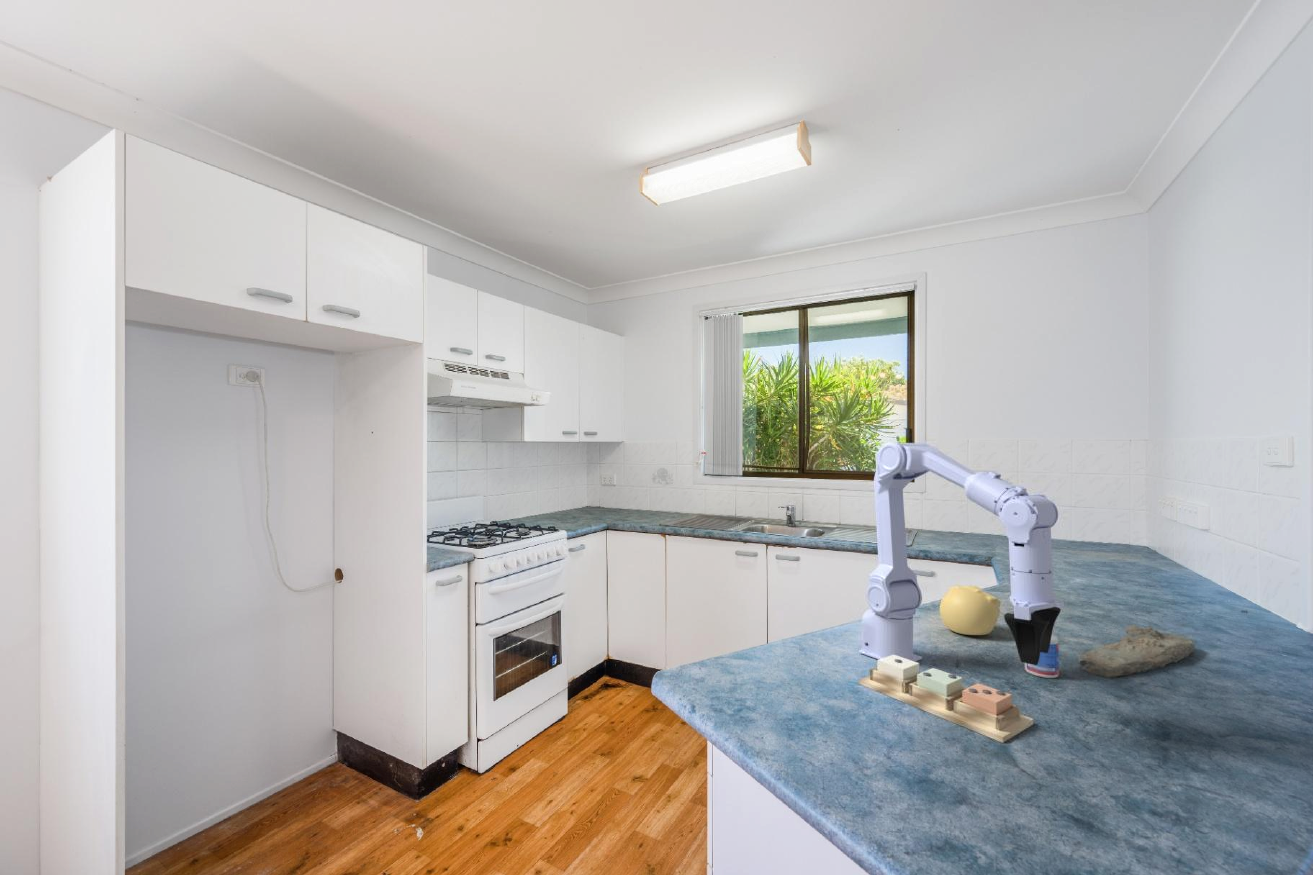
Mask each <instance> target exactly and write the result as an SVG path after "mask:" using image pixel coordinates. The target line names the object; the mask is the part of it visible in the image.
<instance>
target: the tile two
mask: <svg viewBox="0 0 1313 875" xmlns="http://www.w3.org/2000/svg"><path fill="white" fill-rule="evenodd" d="M920 672H921V673H919V674H917V686H919V687H922V688H924V689H927V690H930V691H932V692H935V693H938V694H940V695H943V696H946V697H949V696H951V695H953V694H955V693H958V692H960V691H962V687H963V677H961V676H958V675H956V674H952V673H949V672H946V671H943V670H940V669H938V668H934V667H932V668H930V669H927V670H924V671H920Z"/></svg>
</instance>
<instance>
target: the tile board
mask: <svg viewBox="0 0 1313 875" xmlns="http://www.w3.org/2000/svg"><path fill="white" fill-rule="evenodd" d="M921 672H922V671H920V670H919V673H921ZM858 681H859V682H858V684H859V685H861V686H864V687H866V688H867V689H871V690H873V691H876V692H878V693H881V694H883V695H885V696H887V697H890V698H893V699H895V700H898V701H900V702H903V703H904V704H907V705H910V706H912V707H914V708H917V709H918V710H919V709H920V710H922V711H925V712H927V713H929V714H932V715H934V716H937V717H939V718H941V719H944V720H946V721H949V722H952V723H953V724H956V725H958V726H961V727H964V728H966V729H968V730H970V731H973V732H975V733H977V734H981V735H983V736H985V737H988V738H990V739H992V740H995V741H998V742H1000V743H1002V744H1004V743H1006V741H1009V740H1010V739H1012V738H1013V737H1015V736H1017V735H1018V734H1020V733H1021V732H1023V731H1025V730H1027V729H1028V728H1030V727H1032V726H1033V725H1034V718H1032V717H1029V716H1026V715H1023V714H1021V713H1022V708H1021V706H1019V705H1016V704H1014V703H1012V708H1011V709H1009V710H1008V711H1006V712H1004V713H1002V714H1000V715H999V716H996V715H993V714H991V713H988V712H985V711H983V710H980V709H977V708H975V707H972V706H969V705H967V704H964V703H962V691H960V692H958V693H955V694H953V695H951V696H949V697H946V696H943V695H940V694H938V693H935V692H932V691H930V690H927V689H924V688H922V687H919V686H917V676H915V677H912V678H910V679H907V680H905V681H903V680H900V679H898V678H895V677H893V676H890V675H887V674H885V673H882V672H879V671H877V666H875V667H873V668H870V669H869V675H868V676H866V677H862V678H860V679H858ZM967 688H968V687H965V686H962V690H964V689H967Z"/></svg>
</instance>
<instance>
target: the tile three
mask: <svg viewBox="0 0 1313 875" xmlns="http://www.w3.org/2000/svg"><path fill="white" fill-rule="evenodd" d="M966 688H967V689H964V690H962V703H964V704H967V705H969V706H972V707H975V708H977V709H980V710H983V711H985V712H988V713H991V714H993V715H996V716H999V715H1000V714H1002V713H1004V712H1006V711H1008V710H1009V709H1011V708H1012V704H1013V702H1012V701H1013V700H1012V696H1013V695H1012V694H1011V693H1008V692H1005V691H1002V690H999V689H997V688H994V687H991V686H989V685H984V684H982V683H975V684H973V685H971V686H969V687H966Z"/></svg>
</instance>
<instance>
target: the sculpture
mask: <svg viewBox="0 0 1313 875" xmlns="http://www.w3.org/2000/svg"><path fill="white" fill-rule="evenodd" d="M1000 607H1001V601H1000V600H999V598H998V597H996V596H994V595H992V594H991V593H988V592H986V591H983V590H982V589H981V588H980V587H978V586H977V585H956V584H955V586H952V587H949V588H948V591H947V592H946V593H945V594H944V596H943V597H942V599H941V601H940V604H939V615H940V618H941V621H942V623H943V624H944V626H945V627H946V628H947V629H948V630H950V631H952V632H954V633H957V634H961V635H969V636H985V635H989V634H990V633H991V632H992V631H993V630H994V628H995V627H996V624H997V622H998V619H999V618H1000V615H1001V614H1000V613H1001V610H1000Z"/></svg>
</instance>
